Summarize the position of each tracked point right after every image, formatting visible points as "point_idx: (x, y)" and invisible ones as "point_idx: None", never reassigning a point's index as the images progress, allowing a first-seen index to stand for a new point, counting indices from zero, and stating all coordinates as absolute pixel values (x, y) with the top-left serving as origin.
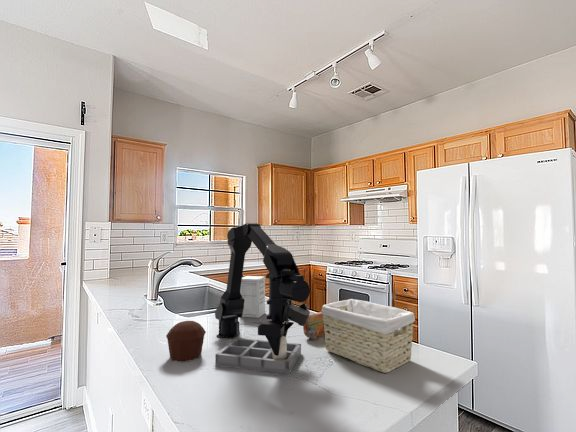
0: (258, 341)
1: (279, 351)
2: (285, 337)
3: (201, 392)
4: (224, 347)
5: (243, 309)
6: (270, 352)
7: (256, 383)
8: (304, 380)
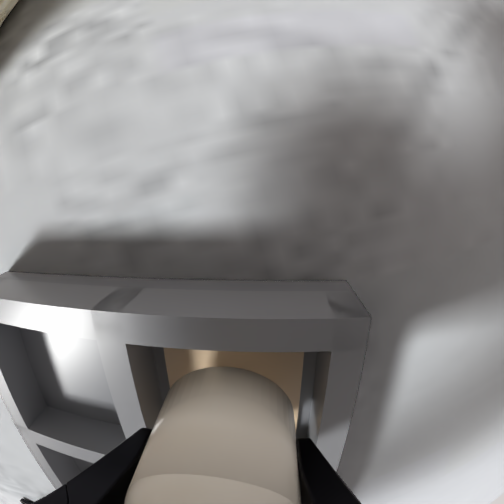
0: None
1: (295, 455)
2: (88, 492)
3: (482, 480)
4: None
5: None
6: None
7: (459, 397)
8: (413, 147)
